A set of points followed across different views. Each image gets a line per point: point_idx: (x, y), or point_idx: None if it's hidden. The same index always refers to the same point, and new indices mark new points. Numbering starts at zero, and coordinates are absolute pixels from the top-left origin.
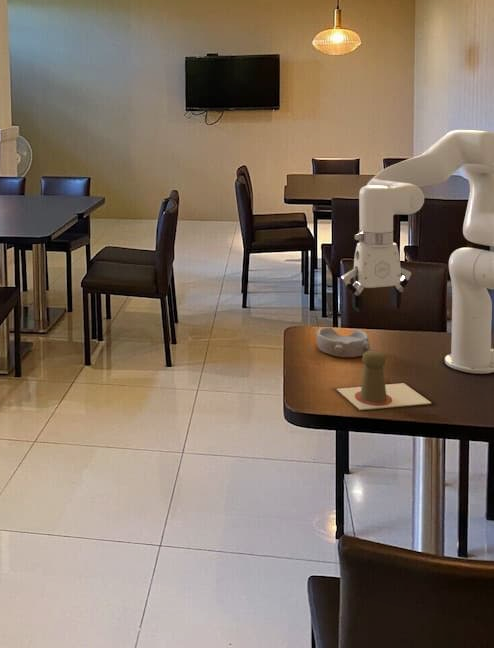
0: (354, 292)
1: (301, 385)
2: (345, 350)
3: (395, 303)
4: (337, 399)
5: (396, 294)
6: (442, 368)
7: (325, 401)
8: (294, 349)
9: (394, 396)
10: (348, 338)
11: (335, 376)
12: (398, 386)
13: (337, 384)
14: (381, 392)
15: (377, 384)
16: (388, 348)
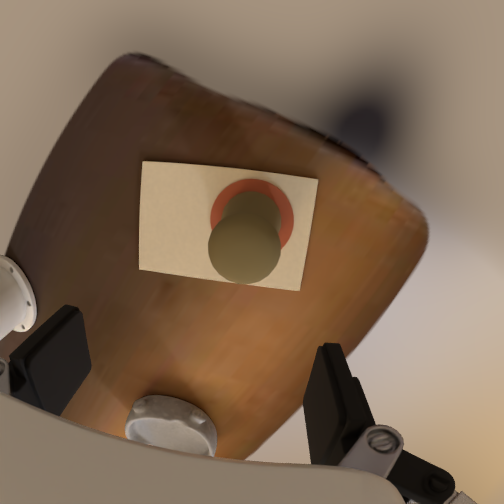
0: (398, 447)
1: (351, 329)
2: (185, 410)
3: (72, 336)
4: (328, 246)
5: (37, 360)
6: (46, 302)
7: (358, 245)
8: (254, 448)
9: (198, 213)
10: (152, 439)
11: (256, 346)
12: (158, 257)
13: (278, 313)
14: (247, 197)
15: (256, 203)
16: (96, 398)
